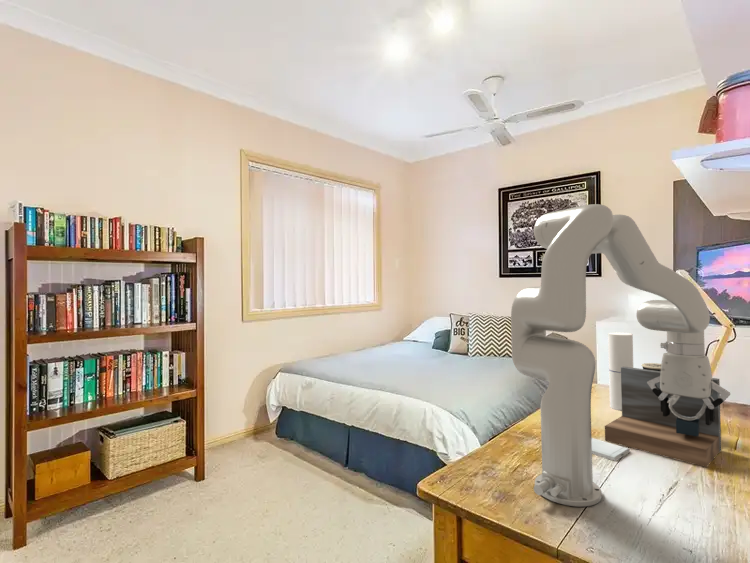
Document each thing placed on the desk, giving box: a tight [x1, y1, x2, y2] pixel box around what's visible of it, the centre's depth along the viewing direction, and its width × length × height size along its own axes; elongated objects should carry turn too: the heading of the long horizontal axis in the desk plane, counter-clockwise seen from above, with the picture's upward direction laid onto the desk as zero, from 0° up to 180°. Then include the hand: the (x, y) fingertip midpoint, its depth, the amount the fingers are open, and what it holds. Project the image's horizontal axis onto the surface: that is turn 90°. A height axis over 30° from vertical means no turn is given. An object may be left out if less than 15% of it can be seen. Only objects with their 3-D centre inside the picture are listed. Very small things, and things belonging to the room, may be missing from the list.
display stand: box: [604, 367, 722, 468], centre depth 109 cm, size 14×22×18 cm, turn 40°
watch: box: [667, 394, 707, 437], centre depth 104 cm, size 6×8×11 cm
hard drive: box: [592, 437, 631, 462], centre depth 108 cm, size 2×8×12 cm
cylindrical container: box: [607, 331, 634, 412], centre depth 141 cm, size 7×7×25 cm
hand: (687, 419), depth 104 cm, fingers closed on watch, 8 cm apart
